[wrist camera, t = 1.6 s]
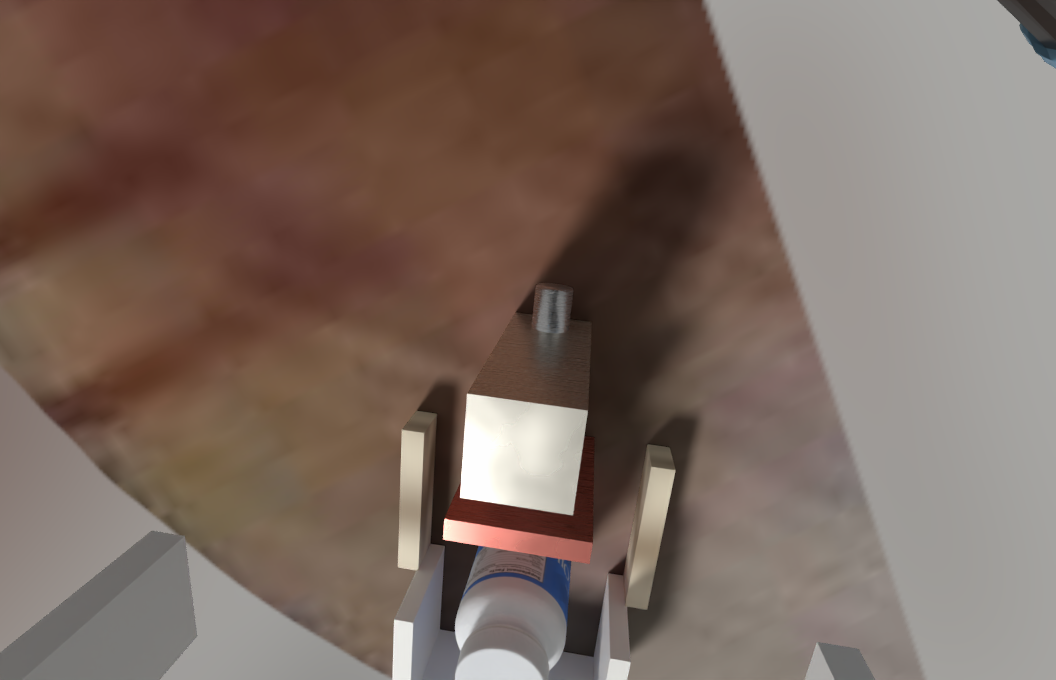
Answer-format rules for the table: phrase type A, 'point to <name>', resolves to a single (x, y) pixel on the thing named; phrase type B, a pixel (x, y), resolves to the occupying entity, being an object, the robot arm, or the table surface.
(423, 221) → the table surface
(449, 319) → the table surface
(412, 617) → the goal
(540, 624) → the pill bottle
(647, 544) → the lane rails
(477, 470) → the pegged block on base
